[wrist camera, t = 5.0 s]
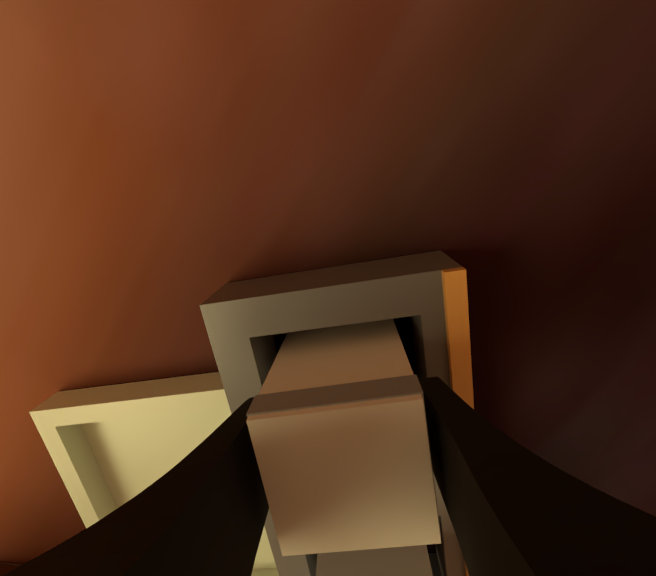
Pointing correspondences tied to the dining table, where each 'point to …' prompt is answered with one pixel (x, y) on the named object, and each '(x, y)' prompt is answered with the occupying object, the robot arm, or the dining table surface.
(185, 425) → the tray
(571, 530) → the robot arm
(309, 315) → the grey cubby shelf
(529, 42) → the dining table surface
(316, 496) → the plug
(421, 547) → the beige block
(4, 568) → the food container
